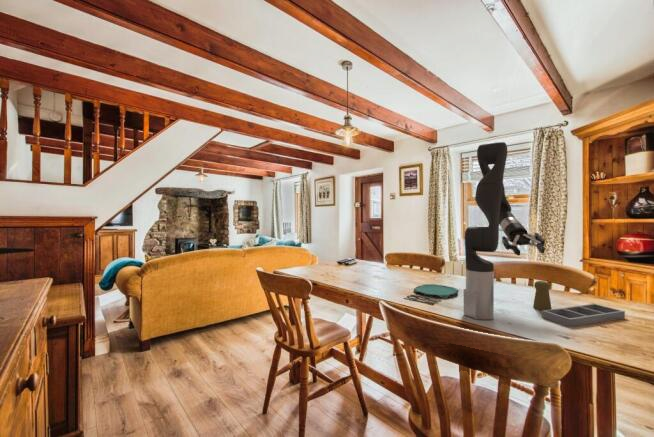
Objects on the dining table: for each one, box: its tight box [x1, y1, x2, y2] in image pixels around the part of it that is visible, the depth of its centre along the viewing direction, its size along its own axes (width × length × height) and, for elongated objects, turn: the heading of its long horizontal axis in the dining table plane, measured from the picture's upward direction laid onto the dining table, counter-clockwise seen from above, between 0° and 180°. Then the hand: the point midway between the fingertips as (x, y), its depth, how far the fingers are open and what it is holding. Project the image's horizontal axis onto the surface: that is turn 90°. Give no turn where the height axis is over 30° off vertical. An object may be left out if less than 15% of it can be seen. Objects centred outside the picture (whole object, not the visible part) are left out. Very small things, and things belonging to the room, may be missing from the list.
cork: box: [532, 280, 553, 312], centre depth 117 cm, size 6×6×11 cm
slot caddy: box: [541, 303, 626, 328], centre depth 107 cm, size 27×10×2 cm, turn 107°
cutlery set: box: [402, 283, 460, 306], centre depth 138 cm, size 20×30×2 cm, turn 135°
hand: (531, 252), depth 116 cm, fingers open, 8 cm apart
